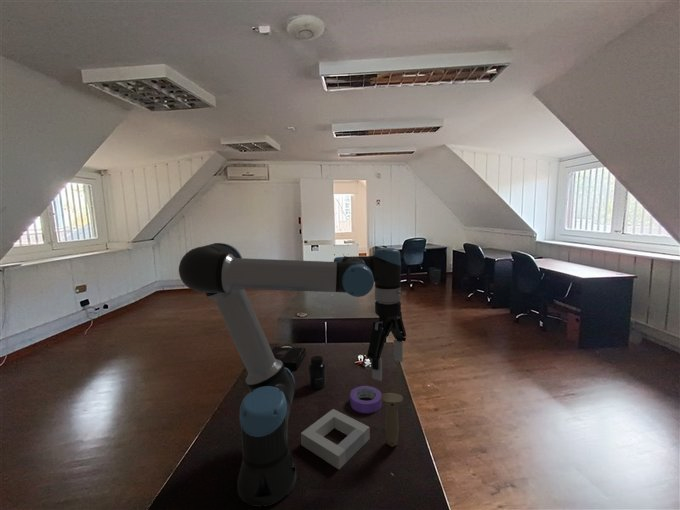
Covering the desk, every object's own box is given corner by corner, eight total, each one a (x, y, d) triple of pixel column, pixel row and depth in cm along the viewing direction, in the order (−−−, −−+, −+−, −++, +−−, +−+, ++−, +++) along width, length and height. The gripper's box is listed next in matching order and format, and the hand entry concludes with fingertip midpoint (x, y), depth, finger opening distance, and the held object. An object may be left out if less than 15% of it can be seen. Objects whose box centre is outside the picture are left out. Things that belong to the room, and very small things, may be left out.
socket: (339, 469, 84) (338, 456, 84) (301, 445, 94) (300, 433, 93) (369, 438, 96) (369, 426, 95) (333, 419, 105) (333, 408, 105)
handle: (403, 450, 91) (403, 402, 89) (381, 448, 91) (381, 401, 90) (402, 438, 95) (402, 393, 94) (381, 437, 96) (381, 392, 94)
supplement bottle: (319, 391, 122) (318, 363, 121) (305, 387, 126) (304, 359, 125) (328, 383, 128) (328, 356, 127) (315, 379, 132) (314, 352, 130)
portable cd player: (273, 354, 159) (273, 346, 158) (305, 355, 156) (305, 347, 156) (261, 369, 143) (260, 361, 142) (296, 371, 140) (296, 363, 140)
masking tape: (388, 402, 114) (387, 393, 114) (368, 418, 106) (368, 407, 105) (363, 391, 122) (363, 382, 122) (343, 404, 114) (343, 395, 113)
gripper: (378, 314, 78) (378, 392, 80) (416, 293, 98) (416, 356, 100) (353, 309, 82) (355, 384, 85) (395, 290, 102) (395, 351, 105)
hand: (388, 369), depth 93 cm, fingers open, 13 cm apart
